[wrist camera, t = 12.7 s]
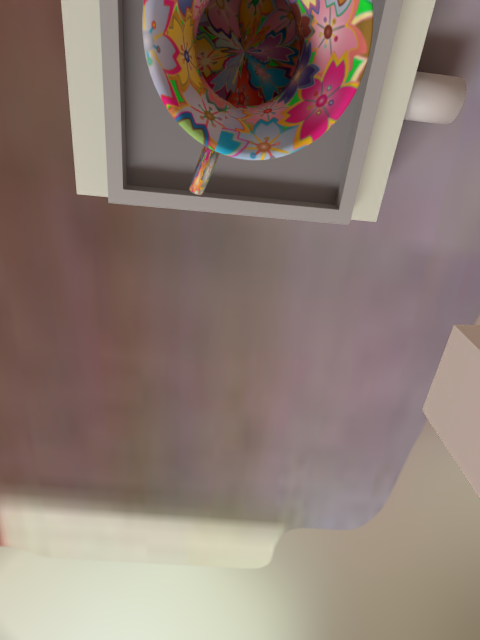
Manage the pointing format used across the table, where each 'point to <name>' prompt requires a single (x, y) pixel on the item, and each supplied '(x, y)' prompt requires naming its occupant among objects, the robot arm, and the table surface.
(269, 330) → the table surface
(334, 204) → the open box
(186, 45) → the mug
